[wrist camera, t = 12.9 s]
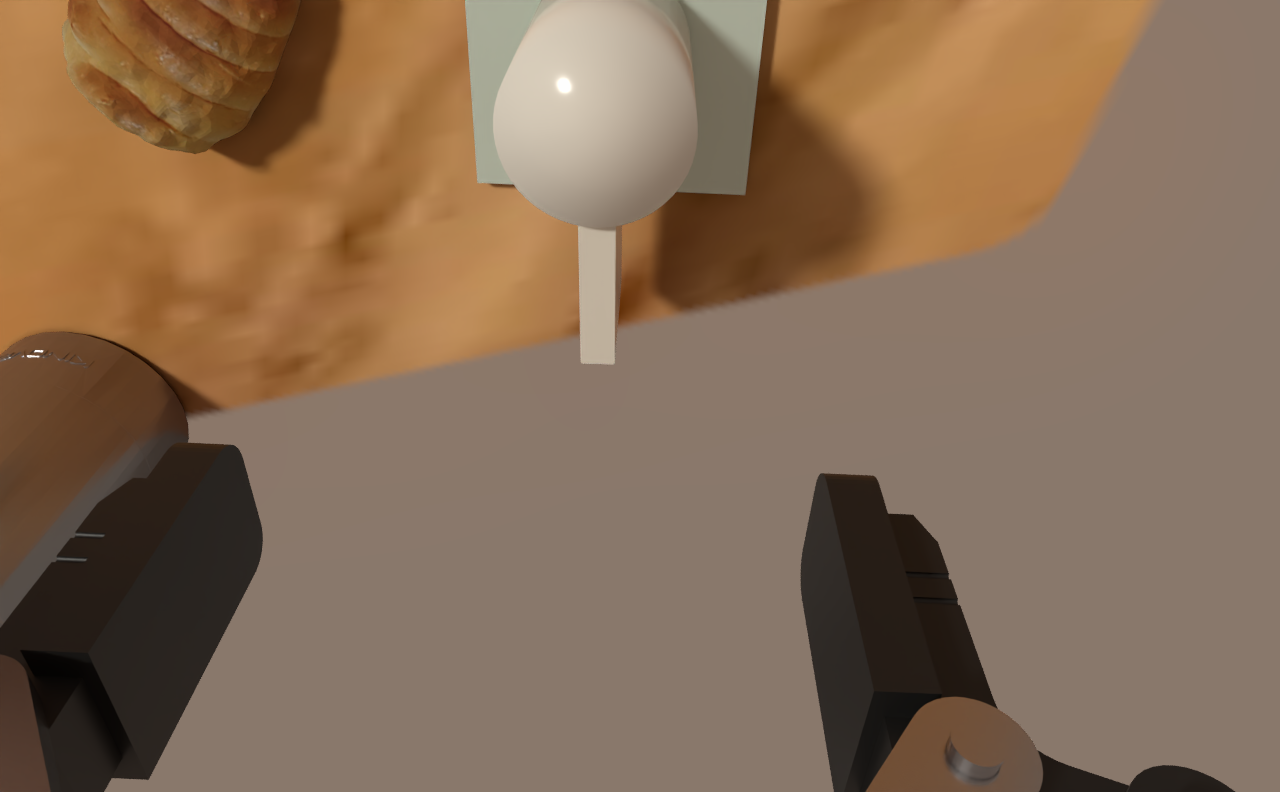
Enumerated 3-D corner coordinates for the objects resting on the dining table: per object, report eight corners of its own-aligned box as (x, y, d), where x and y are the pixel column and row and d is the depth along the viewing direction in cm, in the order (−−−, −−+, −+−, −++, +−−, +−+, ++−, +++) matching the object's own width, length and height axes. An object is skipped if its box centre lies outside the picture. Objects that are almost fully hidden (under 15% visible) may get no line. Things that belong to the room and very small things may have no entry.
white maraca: (526, -43, 32) (484, 22, 24) (695, -37, 32) (704, 29, 24) (540, 250, 38) (511, 369, 31) (679, 254, 38) (682, 374, 31)
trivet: (744, 189, 37) (745, 195, 37) (480, 177, 37) (477, 182, 37) (777, -114, 31) (779, -112, 30) (459, -129, 31) (456, -127, 30)
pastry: (197, -162, 31) (145, -154, 28) (357, -8, 33) (326, 16, 30) (69, 33, 34) (11, 60, 31) (222, 157, 37) (182, 193, 34)
